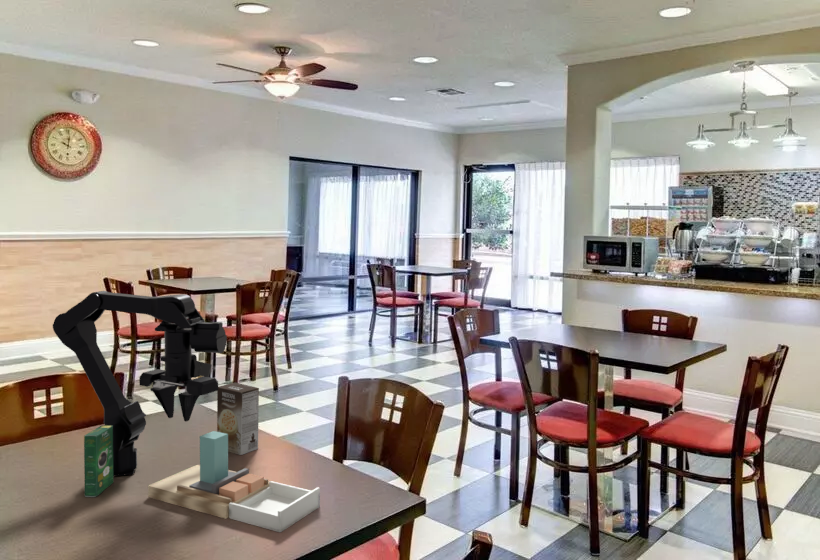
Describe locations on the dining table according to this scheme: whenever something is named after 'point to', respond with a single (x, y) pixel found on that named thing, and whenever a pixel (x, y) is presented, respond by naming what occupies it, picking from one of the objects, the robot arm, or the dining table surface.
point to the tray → (276, 506)
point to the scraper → (215, 463)
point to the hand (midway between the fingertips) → (178, 419)
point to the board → (193, 493)
